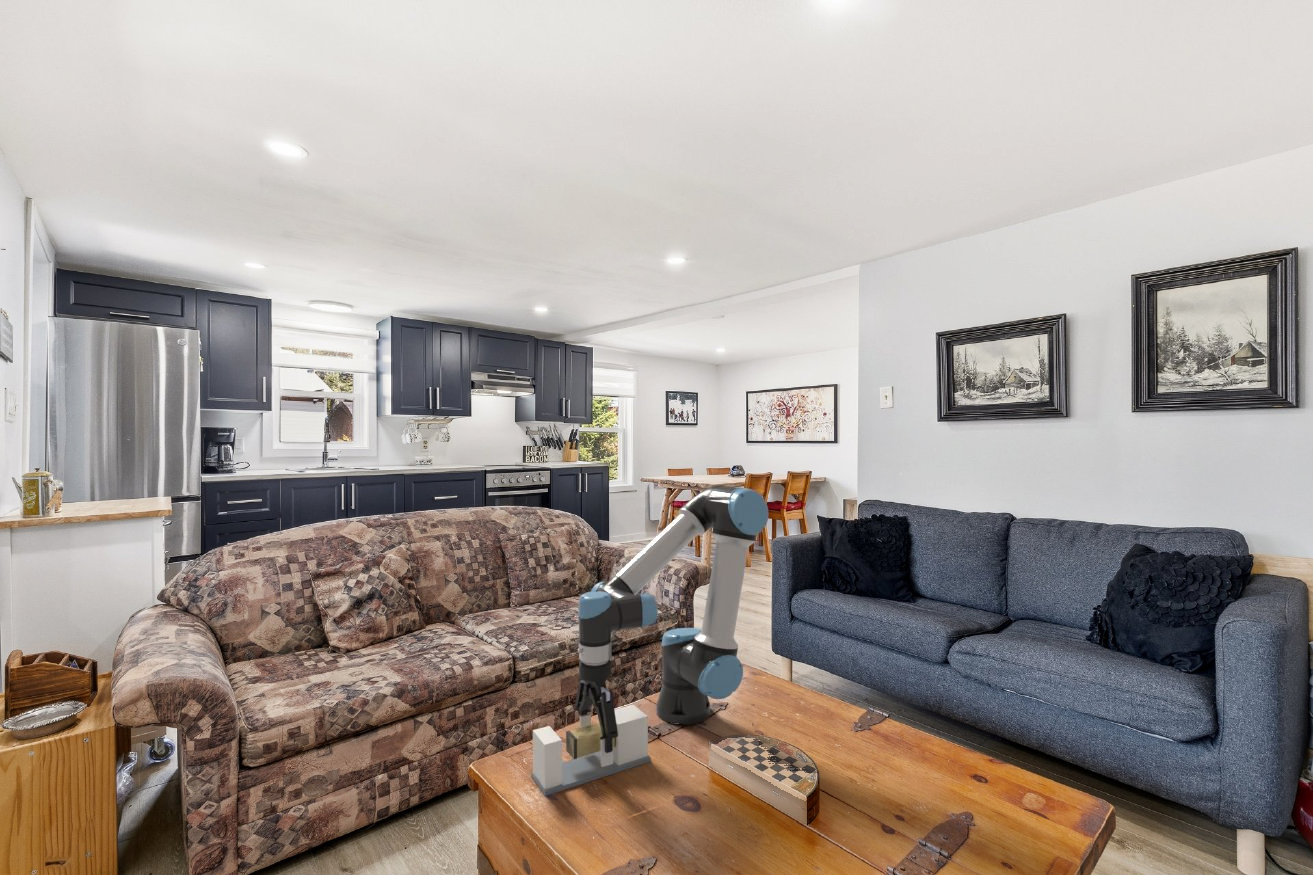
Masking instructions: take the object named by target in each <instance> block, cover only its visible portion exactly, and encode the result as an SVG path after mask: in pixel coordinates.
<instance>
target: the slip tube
mask: <svg viewBox="0 0 1313 875" xmlns="http://www.w3.org/2000/svg"><path fill="white" fill-rule="evenodd" d="M565 737H566V738H565V744H566V745H565V747H566V748H565V749H566V750H565V751H566V752H567V753H568V755H569V756H570V757H571V759H577V758H579V757H583V756H586V755H589V754H593V753H596V752H599V751H601V740H600V737H602V732H601V727H600V723H599V722H597V723H593V724H592V723H591V725H589V726H585V727H581V728H580V727H579V728H575V729H571V730H566V731H565ZM613 747H616V737H615V738H613Z"/></svg>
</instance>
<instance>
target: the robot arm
mask: <svg viewBox="0 0 1313 875" xmlns="http://www.w3.org/2000/svg"><path fill="white" fill-rule="evenodd" d="M768 520H769V507H768V505H767V502H766V500H765V498H764V497H763V495H761V493H759V492H758V491H756V490H754V489H751V488H746V487H737V486H730V485H728V486H727V485H724V484H717V485H712V486H709V487H707V488H704V489H703V490H701V491H700V492H698V493H697V494H695V495H694V496H693V497H692V498H691V499H690V500H688V501H687V502H686V503H685V504H684V505H683V506H681V507H680V508H679V509H678V515H677V517H676V518H674V519H673V520H672V521H671V522H670V523H669V524H668V525H667V526H665V528H664V529H662V530H661V532H659V533H658V535H656V536H655V537H654V538H653V539H652V540H651V541H649V543H648V544H647V545H645V546H644V548H642V549H641V550H640V551H639V552H637V554H636V555H635V556H634V557H633V558H631V560H629V561H628V562H627V563H626V564H625V565H624V566H623V567H622V568H621V569H620V570H619V571H618V572H617V573H616V574H615V575H613V576H612V577H611V578H610V579H609V580H608V581H600V582H597V583H596V584H595V585H594V586H593V587H592V588H591V590H590V591H588V592H585V593H582V594H581V595H580V597H579V600H578V612H577V616H578V648H577V653H578V654H579V655H578V659H579V662H578V686H577V691H576V698H575V705H574V707H575V708H574V709H575V710H577V712H578V715H579V728H581V727H585V726H589V725H592V713H591V712H592V709H591V708H592V706H593V708H595V710H596V714H597V719H598V723H600V727H601V732H602V737H600V740H601V766H602V767H604V766H607V765H610V764H613V738H615V737H618V730H617V724H616V717H615V705H614V692H613V690H612V689H610V690H608V689H607V684H606V681H607V680H608V679H610V678H611V676H612V660H611V659H612V633H615V632H621V631H626V630H632V629H637V628H644V627H647V626H652V625H653V624H655V622H656V621H657V618H658V612H659V610H658V604H657V602H656V599H655V598H654V596H653V595H652V594H650V593H639V592H640V591H641V590H642V589H643V588H644V587H645V586H647V584H649V583H650V582H651V581H652V580H653V579H654V578H655V577H656V576H657V575H658V574H659V573H660V572H661V571H662V570H663V569H664V568H665V567H666V566H667V565H668V564H669V563H670V562H671V561H672V560H673V559H674V558H675V557H676V556H678V555H679V554H680V553H681V552H682V550H684V549H685V548H686V547H687V546H688V545H689V544H690V543H691V542H692V541H693V540H695V538H696V537H697V536H703V535H704V534H705V533H706V532H708V531H709V530H710V529H712V532H711V535H712V537H713V538H714V539H715V549H714V552H713V554H714V555H713V559H712V567H711V571H710V572H711V573H710V578H709V584H708V590H707V596H706V600H705V601H706V602H705V607H704V612H703V618H702V624H701V629H700V628H696V627H681V628H679V627H678V628H674V629H670V630H667V631H666V632H664V633H663V635H662V640H661V656H662V657H661V663H662V664H661V665H662V667H661V668H662V670H661V671H662V673H661V674H662V685H661V689H660V692H659V696H658V699H657V702H656V716H657V717H658V719H660V720H662V721H663V722H666V723H668V722H672V723H679V724H683V725H682V726H688V725H689V726H690V725H696V724H699V723H702V722H704V721H706V720H707V719H708V718H710V716H711V703H710V698H711V699H714V700H724V699H726V698H728V697H730V696H731V695H733V693H735V691H737V690H738V688H739V687H740V685H741V683H742V680H743V677H744V667H743V664H742V662H741V661H740V659H739V658H738V657H737V655H738V650H739V645H738V643H737V641H736V639H735V638H734V637H735V631H736V626H737V619H738V612H739V607H740V601H741V596H742V589H743V583H744V582H743V581H744V575H745V569H746V565H747V564H746V563H747V558H748V551H749V547H750V546H752V545H753V544H754V543H756V538H757V535H758V534H760V533H761V532H762V531H763V529H765V527H766V526H767V525H768V524H767V523H768ZM638 593H639V594H638ZM672 723H671V724H672Z"/></svg>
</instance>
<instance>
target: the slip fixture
mask: <svg viewBox="0 0 1313 875" xmlns="http://www.w3.org/2000/svg"><path fill="white" fill-rule="evenodd" d="M614 710H615V717H616V724H617V730H618V737H616V747H613V764H610V765H607V766H604V767H602V766H601V751H599V752H596V753H593V754H589V755H586V756H583V757H579V758H577V759H573V758H571V759H569V760H566V761H563V740H562V739H561V737H560V736H559V735H558V734H557V733H556V732H555V731H554V730H553V728H552V727H551V726H550V725H547V726H544V727H540V728H536V729H533V730H532V771H530V772H531V773H530V777H531V778H532V779H533V781H534V783H535V784H536V786H537V787H538V788H539V790H540V792H541V793H542V794H543V795H544V797H546V796H549V795H554V794H556V793H559V792H561V791H565V790H568V789H571V788H573V787H577V786H580V785H584V784H586V783H589V782H592V781H595V780H598V779H601V778H604V777H609V776H610V775H615V774H617V773H621V772H624V771H626V770H630V769H632V768H635V767H637V766H641V765H645V764H648V763H650V762H652V757H651V756H650V754H649V739H648V738H649V726H648V725H649V724H648V723H649V718H648V717H649V716H648V715H647V714H645V713H644V712H643V711H642V710H641V709H639V708H638V707H637V706H636V705H634V704H632V705H631V704H630V705H627V706H624V707H620V708H616V709H615V708H614Z"/></svg>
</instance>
